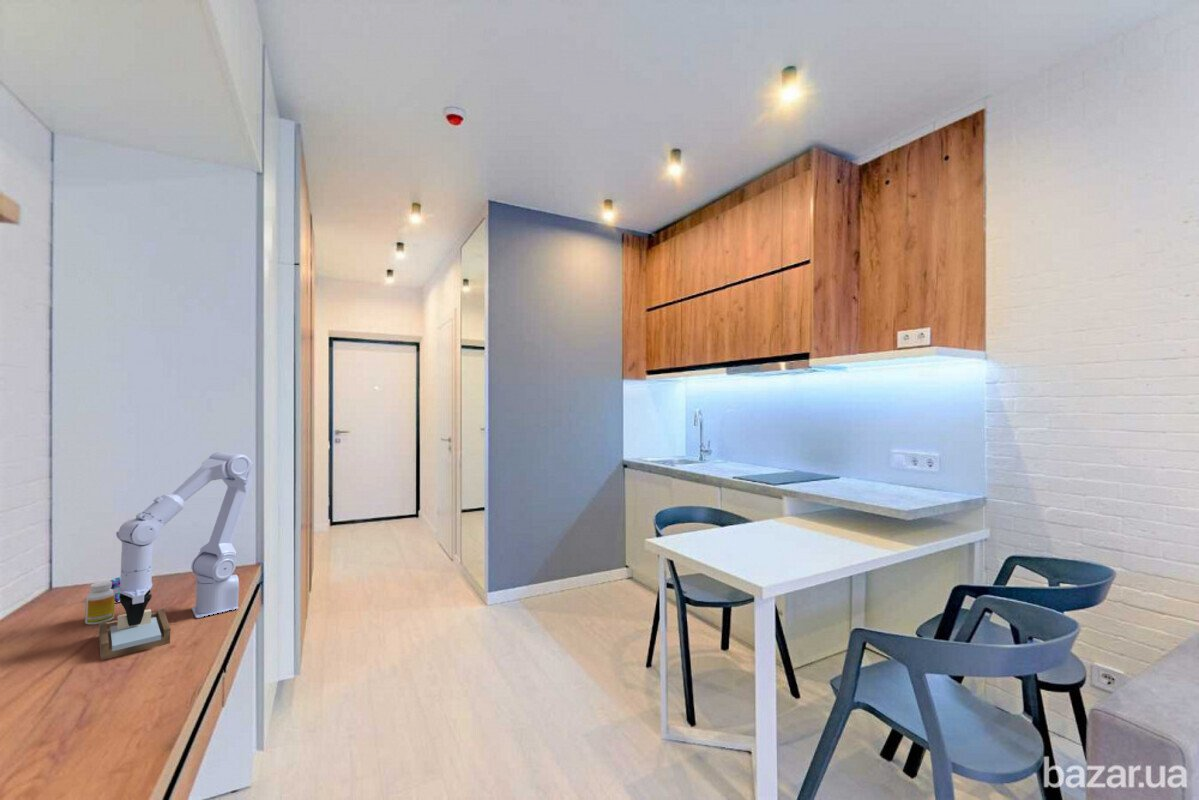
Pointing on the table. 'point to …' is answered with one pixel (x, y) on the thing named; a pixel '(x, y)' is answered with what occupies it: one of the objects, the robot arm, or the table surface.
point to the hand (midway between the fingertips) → (134, 622)
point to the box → (108, 653)
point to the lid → (134, 632)
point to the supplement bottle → (100, 603)
